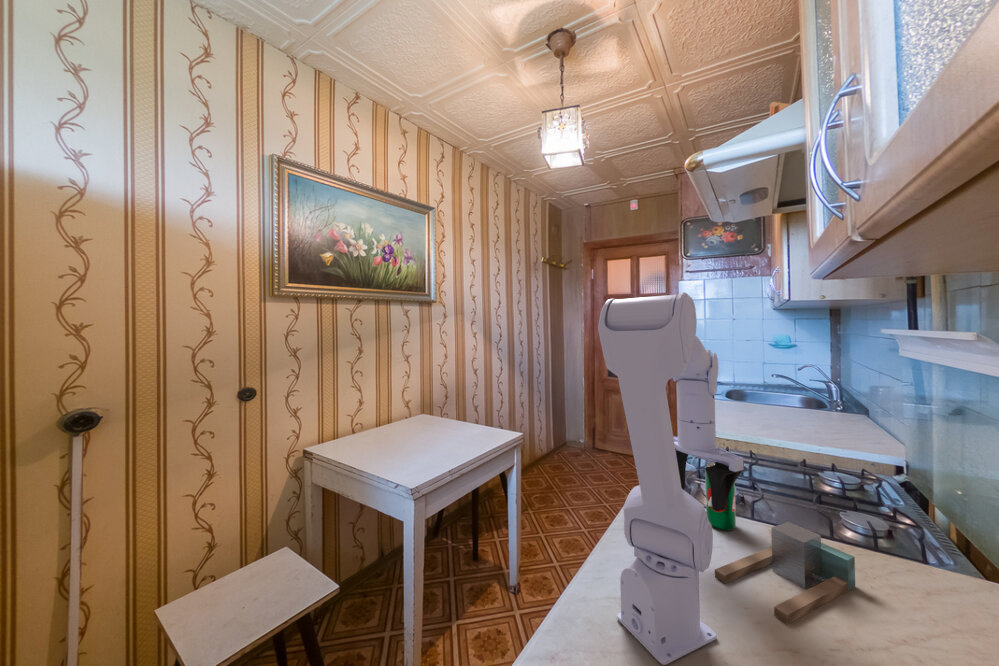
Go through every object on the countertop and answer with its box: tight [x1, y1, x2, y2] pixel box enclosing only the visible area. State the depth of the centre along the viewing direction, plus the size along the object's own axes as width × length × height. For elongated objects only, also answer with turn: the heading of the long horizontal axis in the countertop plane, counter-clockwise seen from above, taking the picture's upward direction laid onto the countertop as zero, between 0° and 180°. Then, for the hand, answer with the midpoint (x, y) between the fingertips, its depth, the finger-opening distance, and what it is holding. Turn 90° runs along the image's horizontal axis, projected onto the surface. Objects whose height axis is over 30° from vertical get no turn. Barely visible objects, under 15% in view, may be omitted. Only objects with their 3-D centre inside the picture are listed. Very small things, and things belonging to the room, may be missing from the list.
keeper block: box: [770, 521, 823, 590], centre depth 57 cm, size 4×4×7 cm
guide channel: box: [714, 524, 856, 625], centre depth 55 cm, size 17×10×4 cm, turn 113°
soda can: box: [704, 461, 737, 532], centre depth 72 cm, size 5×5×12 cm
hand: (697, 499), depth 61 cm, fingers open, 7 cm apart
